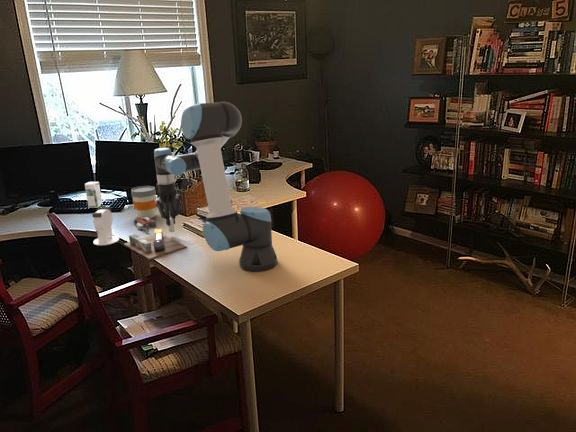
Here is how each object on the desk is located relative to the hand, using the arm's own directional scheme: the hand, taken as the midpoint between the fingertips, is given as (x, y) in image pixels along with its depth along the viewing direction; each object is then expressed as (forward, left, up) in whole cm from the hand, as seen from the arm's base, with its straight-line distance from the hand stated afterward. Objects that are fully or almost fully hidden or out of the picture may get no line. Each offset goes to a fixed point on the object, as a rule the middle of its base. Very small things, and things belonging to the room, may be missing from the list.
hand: (171, 231), depth 227 cm
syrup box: (+74, +7, -3) cm, 74 cm away
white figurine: (+18, +24, -3) cm, 30 cm away
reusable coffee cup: (+37, -6, -3) cm, 38 cm away
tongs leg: (-6, +10, -1) cm, 12 cm away
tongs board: (-6, +12, -2) cm, 14 cm away
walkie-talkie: (+21, +2, -3) cm, 22 cm away
